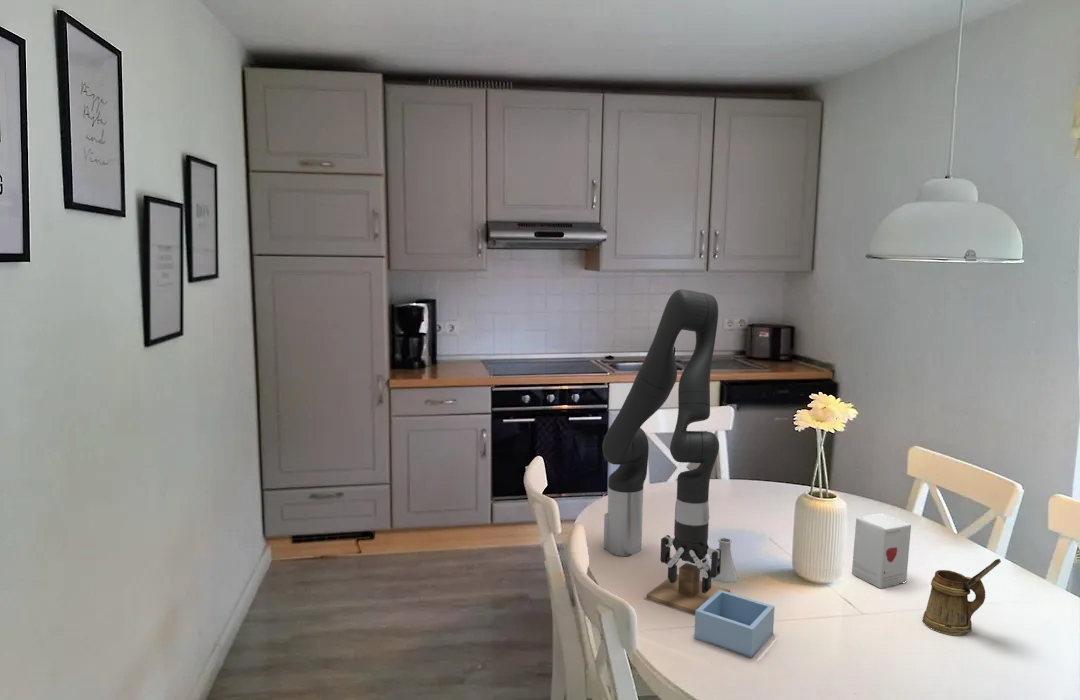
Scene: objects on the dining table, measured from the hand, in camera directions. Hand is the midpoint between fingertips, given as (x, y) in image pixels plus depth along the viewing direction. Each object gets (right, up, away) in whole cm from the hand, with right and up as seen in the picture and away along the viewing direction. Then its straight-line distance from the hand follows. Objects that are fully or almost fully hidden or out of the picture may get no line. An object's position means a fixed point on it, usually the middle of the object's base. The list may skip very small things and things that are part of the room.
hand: (688, 586), depth 165 cm
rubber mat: (0, -3, 0) cm, 3 cm away
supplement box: (+49, -2, +12) cm, 51 cm away
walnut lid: (0, -2, 0) cm, 2 cm away
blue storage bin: (+6, -5, -16) cm, 18 cm away
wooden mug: (+54, -5, -12) cm, 56 cm away
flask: (+11, -2, +11) cm, 15 cm away
